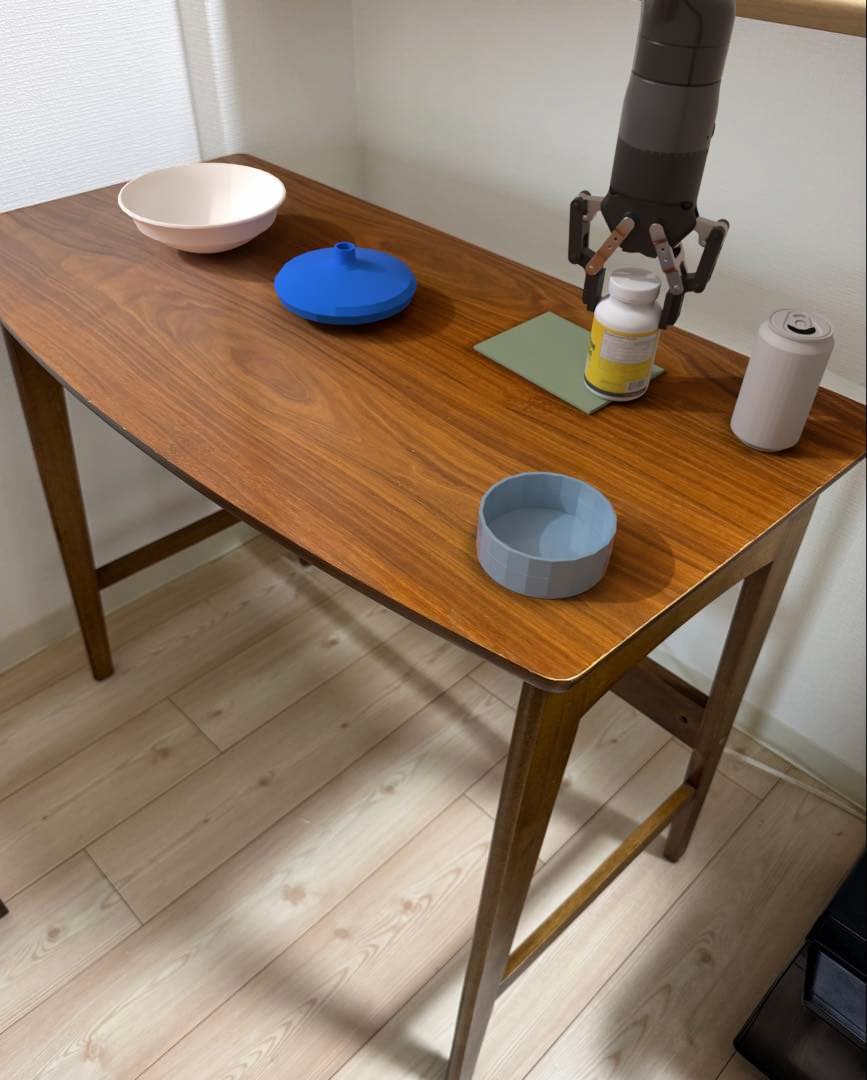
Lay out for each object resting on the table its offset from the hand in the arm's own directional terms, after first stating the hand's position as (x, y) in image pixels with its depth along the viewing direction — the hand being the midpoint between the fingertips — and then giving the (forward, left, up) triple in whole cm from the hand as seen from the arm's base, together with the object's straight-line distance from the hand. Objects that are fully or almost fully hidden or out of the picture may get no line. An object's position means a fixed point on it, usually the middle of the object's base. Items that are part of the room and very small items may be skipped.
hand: (628, 316), depth 85 cm
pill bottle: (0, 0, -8) cm, 8 cm away
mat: (+6, -3, -8) cm, 11 cm away
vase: (+32, -2, -8) cm, 33 cm away
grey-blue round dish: (-2, +26, -8) cm, 27 cm away
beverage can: (-15, +1, -8) cm, 17 cm away
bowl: (+55, -8, -8) cm, 56 cm away
